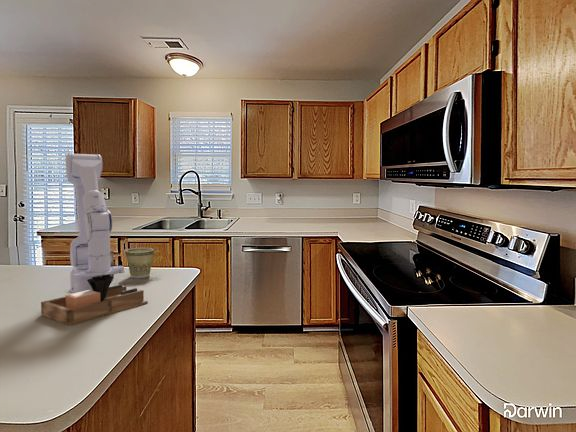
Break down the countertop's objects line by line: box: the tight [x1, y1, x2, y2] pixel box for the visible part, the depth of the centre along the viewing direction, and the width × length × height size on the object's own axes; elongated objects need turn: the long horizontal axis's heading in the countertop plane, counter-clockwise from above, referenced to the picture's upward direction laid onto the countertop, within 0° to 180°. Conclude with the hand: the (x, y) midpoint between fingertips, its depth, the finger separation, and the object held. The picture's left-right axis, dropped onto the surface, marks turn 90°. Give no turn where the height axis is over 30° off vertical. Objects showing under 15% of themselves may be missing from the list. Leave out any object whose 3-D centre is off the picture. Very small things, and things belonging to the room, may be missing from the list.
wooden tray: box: [40, 283, 149, 326], centre depth 125 cm, size 13×24×4 cm, turn 146°
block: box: [65, 290, 100, 309], centre depth 121 cm, size 5×7×5 cm
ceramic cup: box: [125, 247, 162, 279], centre depth 165 cm, size 13×10×10 cm
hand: (100, 302), depth 126 cm, fingers closed
